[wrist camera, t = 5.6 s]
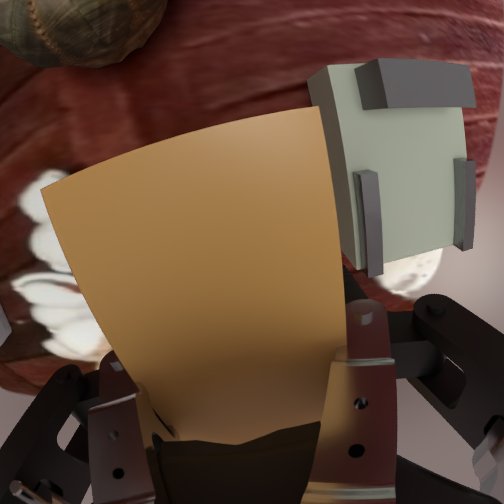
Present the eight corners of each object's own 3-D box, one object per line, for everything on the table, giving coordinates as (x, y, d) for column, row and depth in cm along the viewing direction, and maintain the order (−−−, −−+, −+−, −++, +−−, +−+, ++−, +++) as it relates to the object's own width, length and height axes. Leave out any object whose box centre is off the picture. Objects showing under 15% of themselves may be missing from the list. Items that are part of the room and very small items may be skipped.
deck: (306, 79, 17) (346, 52, 10) (415, 75, 17) (484, 63, 10) (333, 240, 22) (375, 295, 15) (430, 219, 22) (491, 258, 14)
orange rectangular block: (135, 153, 10) (37, 190, 4) (271, 117, 10) (320, 105, 4) (222, 387, 15) (222, 489, 9) (315, 369, 14) (344, 468, 9)
